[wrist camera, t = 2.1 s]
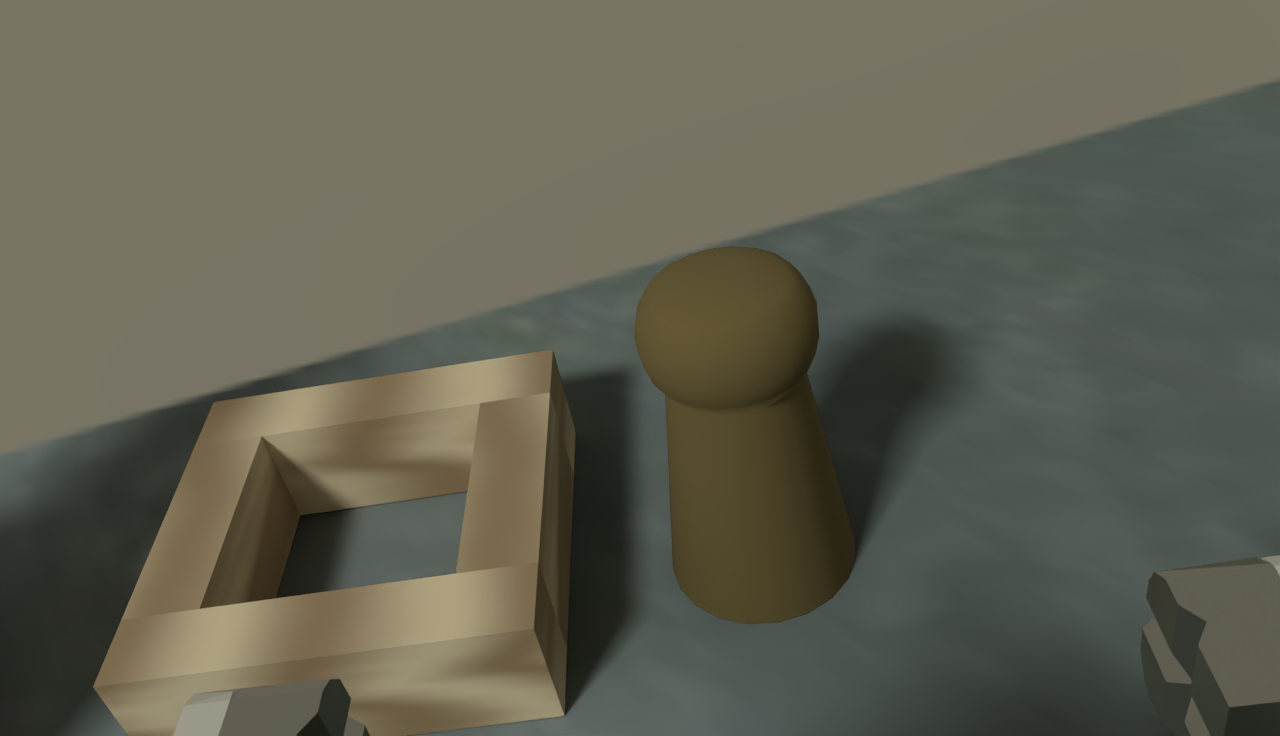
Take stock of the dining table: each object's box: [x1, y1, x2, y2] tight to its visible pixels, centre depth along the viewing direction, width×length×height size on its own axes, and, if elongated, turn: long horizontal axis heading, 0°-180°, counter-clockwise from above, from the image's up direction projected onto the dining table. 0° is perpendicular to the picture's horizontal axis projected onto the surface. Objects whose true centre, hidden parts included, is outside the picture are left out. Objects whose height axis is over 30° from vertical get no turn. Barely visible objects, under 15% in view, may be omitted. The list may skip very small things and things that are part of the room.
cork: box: [634, 247, 856, 624], centre depth 36 cm, size 6×6×11 cm
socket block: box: [93, 350, 576, 736], centre depth 40 cm, size 13×13×4 cm
